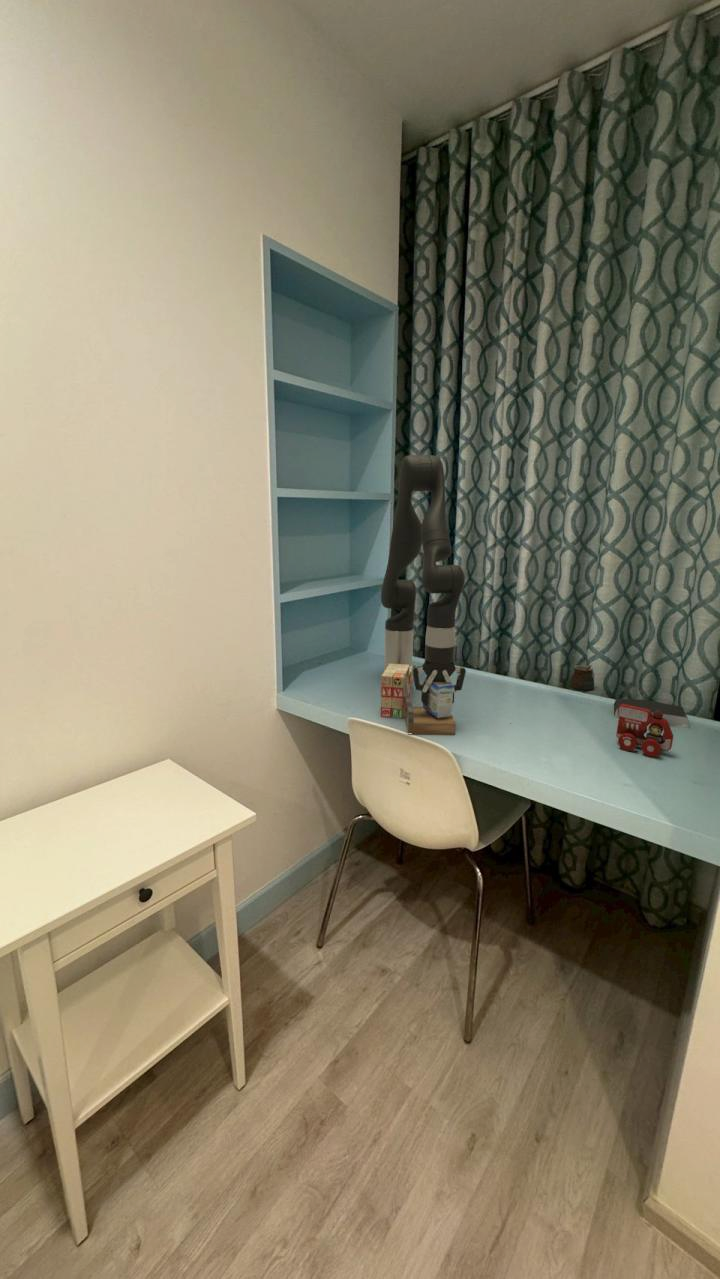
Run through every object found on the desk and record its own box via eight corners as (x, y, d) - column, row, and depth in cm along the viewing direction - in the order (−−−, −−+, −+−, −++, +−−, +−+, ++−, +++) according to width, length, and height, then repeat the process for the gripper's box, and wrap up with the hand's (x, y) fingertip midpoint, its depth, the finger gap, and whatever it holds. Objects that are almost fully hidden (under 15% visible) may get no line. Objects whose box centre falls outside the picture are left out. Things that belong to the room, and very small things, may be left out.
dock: (404, 716, 149) (405, 696, 147) (448, 717, 149) (449, 696, 147) (408, 734, 137) (408, 712, 136) (455, 734, 137) (456, 712, 135)
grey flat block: (689, 733, 140) (691, 719, 140) (612, 722, 148) (614, 708, 147) (683, 717, 151) (685, 704, 151) (612, 707, 159) (613, 695, 158)
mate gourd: (582, 687, 176) (585, 657, 173) (599, 694, 169) (602, 663, 166) (564, 689, 173) (567, 659, 171) (580, 696, 166) (583, 665, 164)
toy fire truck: (667, 761, 123) (674, 719, 121) (610, 747, 131) (615, 707, 128) (672, 751, 129) (678, 710, 126) (616, 738, 136) (621, 699, 134)
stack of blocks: (393, 692, 169) (394, 655, 166) (412, 694, 167) (414, 656, 165) (380, 717, 149) (381, 675, 146) (402, 719, 147) (404, 676, 144)
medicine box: (422, 708, 145) (423, 677, 143) (436, 706, 146) (438, 675, 144) (437, 718, 138) (438, 686, 136) (452, 716, 139) (453, 684, 137)
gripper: (465, 639, 141) (461, 700, 145) (410, 639, 141) (408, 699, 145) (470, 646, 134) (467, 710, 138) (413, 646, 134) (411, 709, 138)
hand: (437, 704), depth 141 cm, fingers closed on medicine box, 5 cm apart
